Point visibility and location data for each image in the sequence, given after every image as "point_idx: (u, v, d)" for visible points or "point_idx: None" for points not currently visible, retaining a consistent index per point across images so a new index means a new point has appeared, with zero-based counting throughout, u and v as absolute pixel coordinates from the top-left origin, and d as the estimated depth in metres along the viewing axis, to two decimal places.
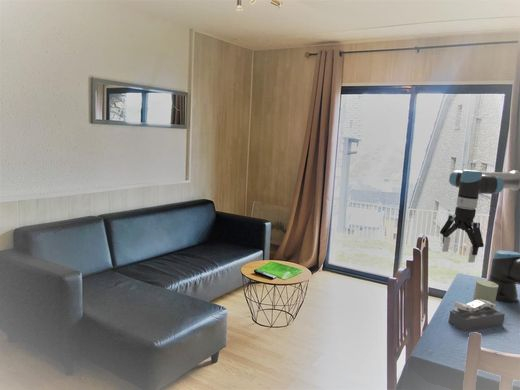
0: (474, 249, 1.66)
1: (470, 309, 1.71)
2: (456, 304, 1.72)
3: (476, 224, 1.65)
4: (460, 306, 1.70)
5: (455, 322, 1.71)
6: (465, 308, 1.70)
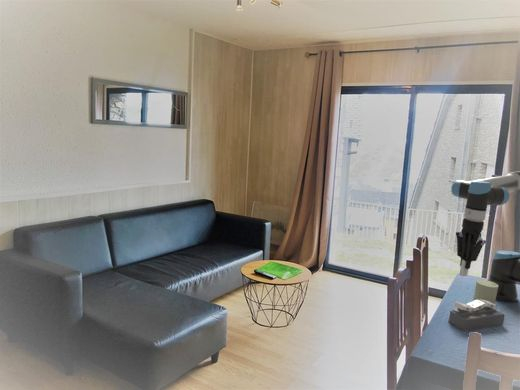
0: (467, 263, 1.67)
1: (470, 309, 1.71)
2: (456, 304, 1.72)
3: (481, 242, 1.61)
4: (460, 306, 1.70)
5: (455, 322, 1.71)
6: (465, 308, 1.70)
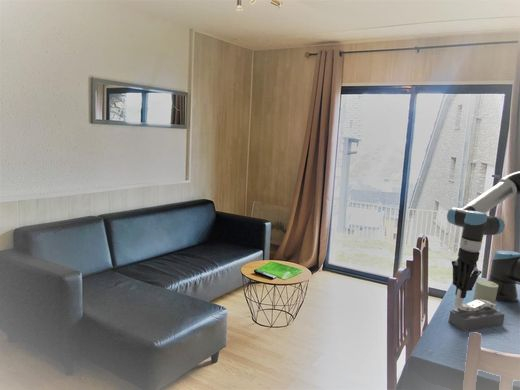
0: (462, 292, 1.68)
1: (470, 309, 1.71)
2: None
3: (477, 273, 1.62)
4: (460, 306, 1.70)
5: (455, 322, 1.71)
6: (465, 308, 1.70)
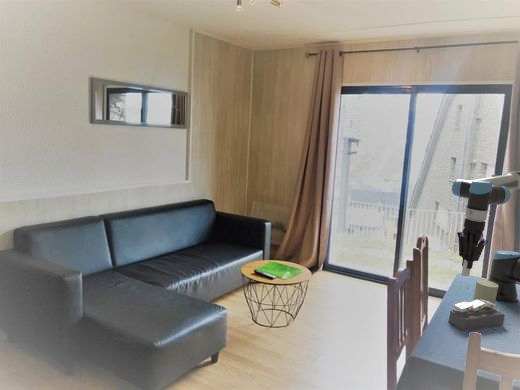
0: (469, 263, 1.67)
1: (470, 307, 1.71)
2: (455, 307, 1.72)
3: (483, 242, 1.61)
4: (459, 308, 1.70)
5: (455, 322, 1.71)
6: (465, 309, 1.70)
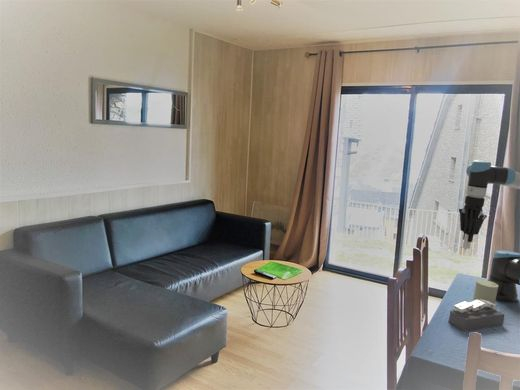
0: (469, 236, 1.82)
1: (470, 307, 1.71)
2: (455, 307, 1.72)
3: (483, 217, 1.76)
4: (459, 309, 1.70)
5: (455, 322, 1.71)
6: (465, 309, 1.70)
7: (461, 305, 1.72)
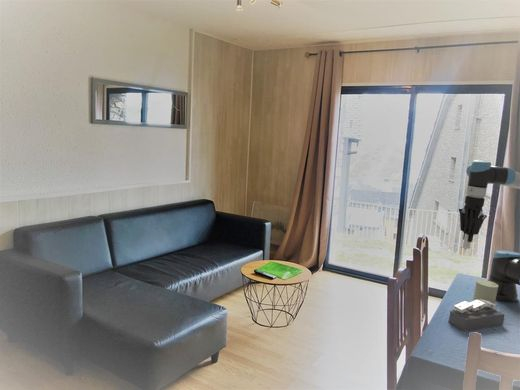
0: (469, 236, 1.82)
1: (470, 307, 1.71)
2: (455, 308, 1.72)
3: (483, 217, 1.76)
4: (459, 309, 1.70)
5: (455, 322, 1.71)
6: (465, 309, 1.70)
7: (461, 305, 1.72)
